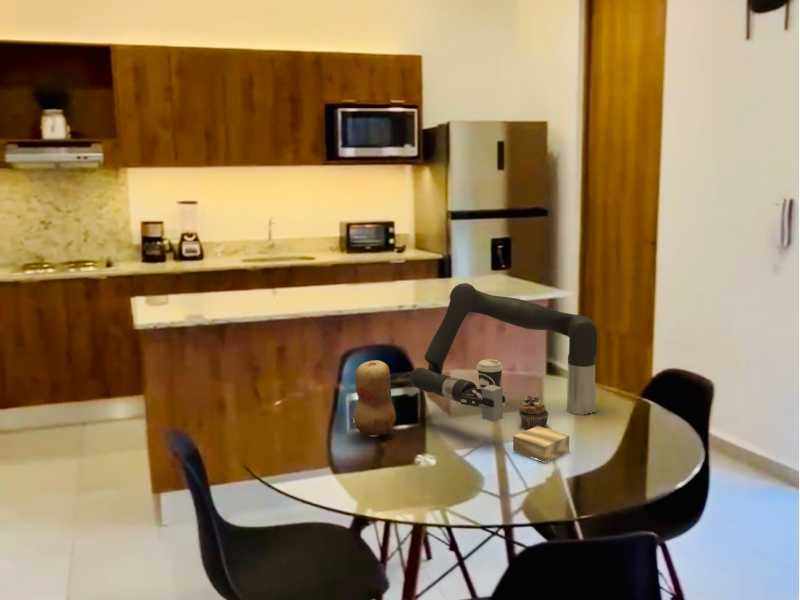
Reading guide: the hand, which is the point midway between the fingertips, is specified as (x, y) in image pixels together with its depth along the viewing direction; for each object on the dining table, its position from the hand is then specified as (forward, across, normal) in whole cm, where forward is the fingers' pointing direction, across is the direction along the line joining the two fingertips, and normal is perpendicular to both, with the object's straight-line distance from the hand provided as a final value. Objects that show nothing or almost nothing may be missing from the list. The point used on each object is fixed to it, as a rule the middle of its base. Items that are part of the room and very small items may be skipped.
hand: (498, 401), depth 238 cm
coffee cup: (-29, +28, +15) cm, 43 cm away
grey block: (-3, 0, +6) cm, 7 cm away
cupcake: (-3, +20, +15) cm, 25 cm away
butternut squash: (-34, -22, +14) cm, 43 cm away
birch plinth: (+12, +5, +14) cm, 20 cm away
